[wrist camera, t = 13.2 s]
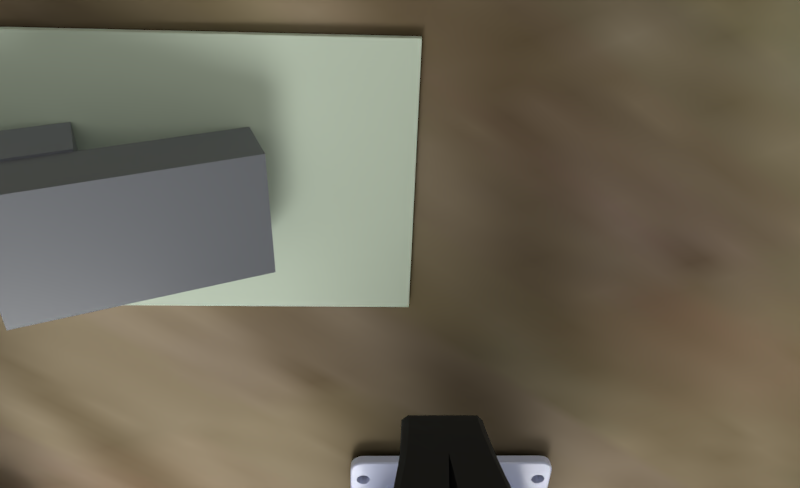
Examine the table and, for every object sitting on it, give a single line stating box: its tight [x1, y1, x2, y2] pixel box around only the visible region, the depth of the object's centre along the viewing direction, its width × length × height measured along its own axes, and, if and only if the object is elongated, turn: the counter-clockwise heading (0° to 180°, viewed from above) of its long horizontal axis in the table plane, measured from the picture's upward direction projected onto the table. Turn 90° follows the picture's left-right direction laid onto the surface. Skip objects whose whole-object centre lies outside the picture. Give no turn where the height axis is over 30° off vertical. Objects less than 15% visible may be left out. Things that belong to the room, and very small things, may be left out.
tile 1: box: [0, 127, 276, 330], centre depth 18 cm, size 2×4×7 cm
